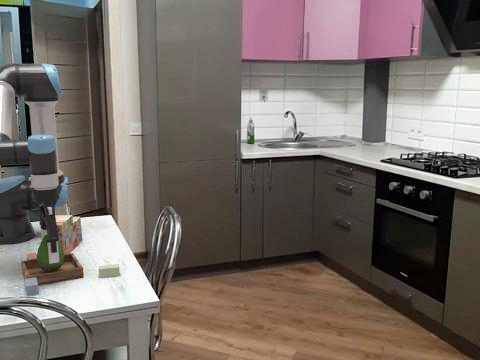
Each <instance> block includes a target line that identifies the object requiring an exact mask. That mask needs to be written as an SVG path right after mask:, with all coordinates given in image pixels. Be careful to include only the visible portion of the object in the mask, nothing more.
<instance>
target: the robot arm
mask: <svg viewBox="0 0 480 360" xmlns="http://www.w3.org/2000/svg"><path fill="white" fill-rule="evenodd" d="M58 73H59V72H58V69H57V67H56V65H54V64H50V63H7V64H4V65H1V66H0V167H1V166H12V165H13V166H14V165H29V170H30V177H28V179H26V177H25V175H12V176H7V177H3V178H0V245H8V244H9V245H10V244H12V245H13V244H18V243H24V242H27V241H30V240H32V239H34V238H35V236H36V231H35V228H34V226H33V224H32V222H31V220H30V218H29V211H33V210H35V211H36V210H38V211H39V226H40V234H41V240H42V239H43V237H44V236H45V235H48V240H46V243H48V253H49V263H50V264H51V263H57V262H59V250H58V241H59V237H58V230H57V223H56V217H55V215H56V209H57V208H63V207H65V206H66V205H67V202H68V201H67V200H68V193H69V192H68V190H69V178H68V177H67V176H65V174H64V172H63V171H62V170H61V169H60V164H59V163H60V162H59V151H58V150H59V149H58V136H57V135H58V134H57V122H56V121H57V120H56V110H55V107H56V105H57V104H58V102H59V98H60V97H62V96H63V92H62V87H61V82H60V77H59V74H58ZM15 97H18V98H19V97H23V98H24V104H26V105H28V107H29V117H30V126H31V127H30V128H31V130H30V131H31V135H29V136H28V138H27V139H15V140H14V139H13V137H12V135H13V134H12V133H13V129H12V128H13V119H12V118H13V116H12V115H13V114H12V113H13V108H12V107H13V106H12V105H13V101H14V99H15ZM12 139H13V140H12ZM53 236H54V237H53Z"/></svg>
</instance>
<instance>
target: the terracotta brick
mask: <svg viewBox="0 0 480 360" xmlns="http://www.w3.org/2000/svg"><path fill="white" fill-rule="evenodd" d="M25 256H26V260H32V259H37V252H29V253H26V254H25Z"/></svg>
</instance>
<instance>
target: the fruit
mask: <svg viewBox="0 0 480 360" xmlns="http://www.w3.org/2000/svg"><path fill="white" fill-rule="evenodd" d="M53 237H54V236H53ZM46 240H48V235H45V236H44V237H43V239H42V238H41V241H40V243H39V246H38V249H37V252H36V253H37V261H38V264H39V266H40V268H41V269H42V270H43V271H45V272H48V273H51V272H55V271H57V270H59V269H60V268H61V266H62V264H63V261H64V251H63V247H62V244H61V241H60V239H59V241H58V250H59V262H57V263H51V264H50V263H49V253H48V243H46Z"/></svg>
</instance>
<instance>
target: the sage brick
mask: <svg viewBox="0 0 480 360" xmlns="http://www.w3.org/2000/svg"><path fill="white" fill-rule="evenodd" d="M120 273H121V272H120V264H119V263H117V264H116V263H115V264H105V265H99V266H98V279H105V278H116V277H120V276H121V275H120Z"/></svg>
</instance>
